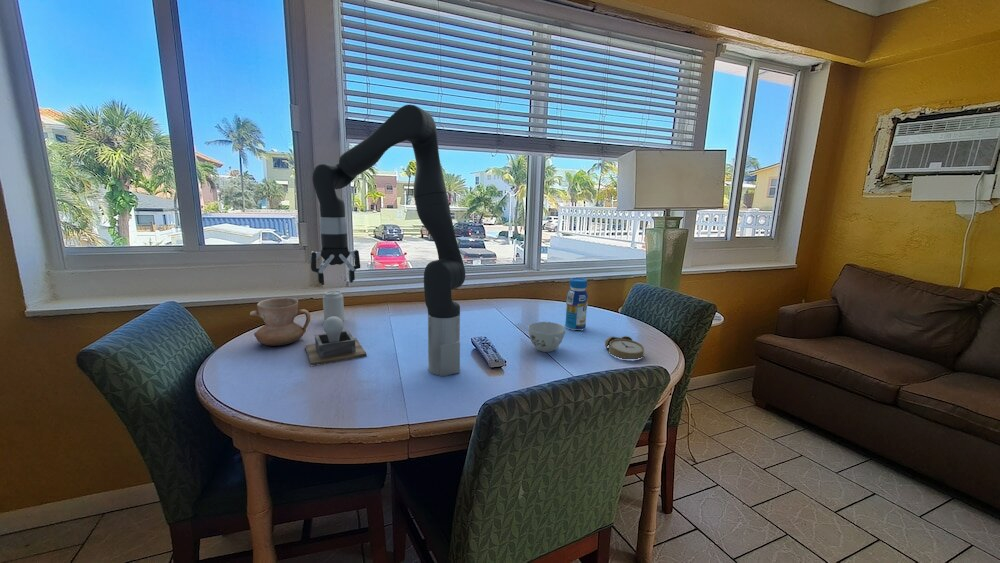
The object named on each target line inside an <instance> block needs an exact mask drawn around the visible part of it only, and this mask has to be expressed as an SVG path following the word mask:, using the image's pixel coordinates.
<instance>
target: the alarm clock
mask: <svg viewBox="0 0 1000 563" xmlns="http://www.w3.org/2000/svg"><path fill="white" fill-rule="evenodd" d="M608 345H609V349H608V353H609V352H610V354H612V355H614V356H616V357H619V358H622V359H638V358H641V357H643V358H646V356H645V355H644V352H645V347H644V346H643V344H642V343H640V342H637V341H635V340H633V339H632V338H631V337H630V336H627V335H626V336H625V335H624V336H622V337H617V336H609V337H607V338H606V339H605V342H604V346H605V349H607V346H608ZM610 354H609V355H610Z"/></svg>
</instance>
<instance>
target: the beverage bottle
mask: <svg viewBox="0 0 1000 563" xmlns="http://www.w3.org/2000/svg"><path fill="white" fill-rule="evenodd" d="M569 288H570V289H569V290H568V292H567V294H566V297H567V298H566V301H565V303H566V308H565V309H566V310H565V324H564V327H565V329H567V328H568V329H567V330H569V329H571V330H570V331H574V330H581V331H583V330H582V329H584V330H585V329H586V327H587V326H586V324H587V313H588V312H587V309H588V305H589V301H588V298H589V295H588V292H587V290H586V289H587V288H588V279H586V278H582V277H571V278H569Z"/></svg>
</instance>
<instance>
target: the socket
mask: <svg viewBox="0 0 1000 563" xmlns="http://www.w3.org/2000/svg"><path fill="white" fill-rule="evenodd" d="M305 351H306V353H307V356H308V359H309V360H308V361H309V363H310V366H311V365H315V366H318V365H317V364H320V365H325V364H324V363H326V364H331V363H330V362H332V363H336V361H338V362H344V361H348V360H349V361H350V360H354V359H360V358H364V357H367V352H366V350H365V348H363V346H362V345H361V343H360V342H359V340H358V339H357V337H353V335H352V333H351V332H350V330H342V332H341V334H340V337H339V342H332V343H330V342H329V339H328V336H327V334H326V333H321V334H320V333H319V334H314V343H311V344H306V345H305Z"/></svg>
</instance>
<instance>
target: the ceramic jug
mask: <svg viewBox="0 0 1000 563" xmlns="http://www.w3.org/2000/svg"><path fill="white" fill-rule="evenodd" d="M256 305H257V306H256V307H257V310H252V311H250V313H249V315H250V316H251V317H252V316H257V317H260V318H261V319H262V321H263V322H264V323H265V324H264V325H262V326H261V327H260V328H258V330H257V331H255V332H254V333H253V335H254V337H255V339H256V341H257V342H259V344H262V345H265V346H270V347H271V346H272V347H275V346H276V347H277V346H286V345H289V344H292V343H294V342H296V341H297V342H298V340H300V339H301V338H302V337H303V336H304V335H305V333H306V331H307V328H308V326H309V324H310V321H311V314H310V312H309V310H307V309H303V308H301V309H298V308H299V300H298V299H297V298H293V297H274V298H269V299H264V300H263V299H262V300H261V301H259V302H258V303H257V304H256ZM299 314H304V315H305V323H304V325H303V326H302V325H300V323H298V322H295V318H296V317H297V316H298V315H299Z"/></svg>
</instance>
